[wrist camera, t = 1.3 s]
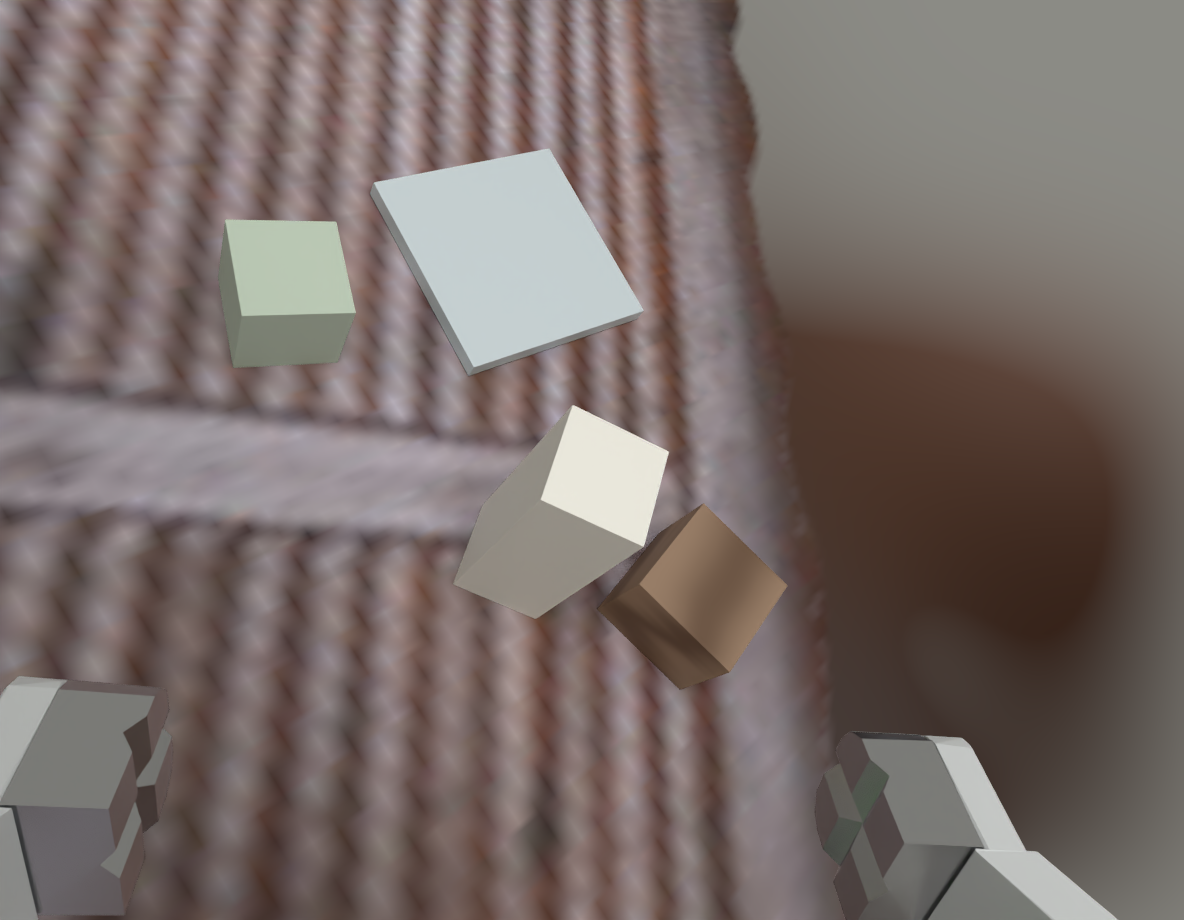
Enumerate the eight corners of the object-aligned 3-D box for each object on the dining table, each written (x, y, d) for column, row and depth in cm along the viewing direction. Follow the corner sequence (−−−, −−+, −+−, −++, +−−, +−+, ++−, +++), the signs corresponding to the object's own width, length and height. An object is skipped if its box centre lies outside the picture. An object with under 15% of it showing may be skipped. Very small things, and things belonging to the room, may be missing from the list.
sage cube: (217, 279, 46) (225, 219, 42) (319, 278, 48) (336, 221, 44) (232, 368, 45) (241, 315, 40) (337, 363, 47) (355, 312, 43)
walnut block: (596, 609, 48) (639, 583, 43) (657, 534, 51) (703, 503, 47) (678, 690, 48) (729, 672, 44) (734, 609, 51) (787, 585, 47)
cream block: (452, 584, 45) (540, 499, 35) (482, 505, 47) (572, 405, 37) (535, 619, 46) (643, 546, 36) (560, 540, 48) (668, 451, 38)
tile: (370, 193, 52) (373, 182, 51) (543, 159, 58) (549, 148, 57) (468, 376, 50) (473, 367, 49) (636, 319, 56) (643, 310, 55)
